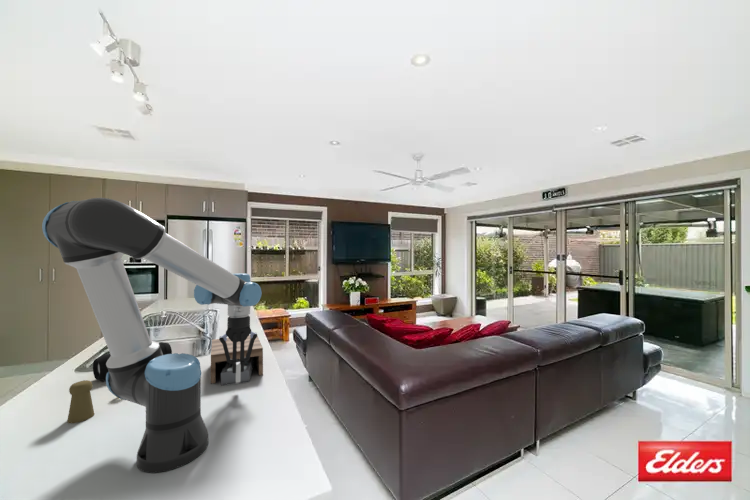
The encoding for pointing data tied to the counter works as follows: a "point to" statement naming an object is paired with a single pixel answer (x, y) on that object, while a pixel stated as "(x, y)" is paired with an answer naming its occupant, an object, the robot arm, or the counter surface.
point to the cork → (80, 402)
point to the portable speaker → (100, 362)
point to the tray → (230, 377)
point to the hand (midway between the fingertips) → (238, 381)
